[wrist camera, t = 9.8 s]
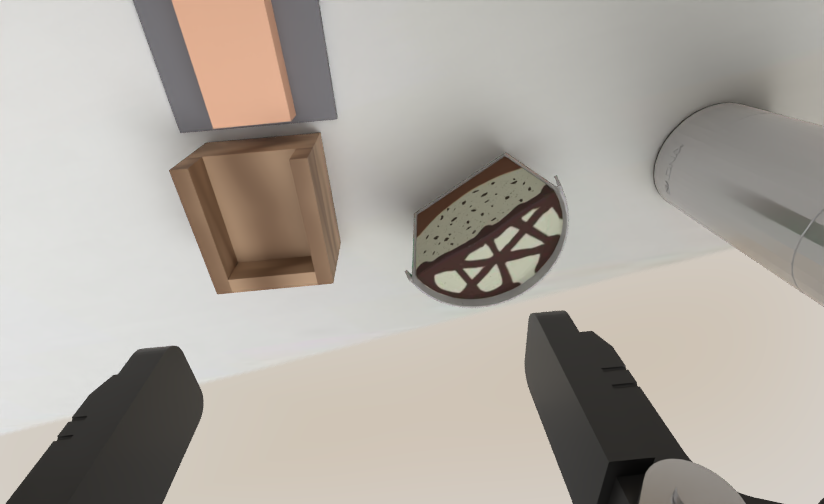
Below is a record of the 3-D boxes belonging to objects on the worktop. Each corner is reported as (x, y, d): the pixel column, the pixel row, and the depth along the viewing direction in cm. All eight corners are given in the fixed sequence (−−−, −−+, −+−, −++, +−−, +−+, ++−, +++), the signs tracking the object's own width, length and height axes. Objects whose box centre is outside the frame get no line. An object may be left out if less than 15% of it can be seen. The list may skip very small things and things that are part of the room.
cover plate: (252, -86, 25) (242, -93, 23) (296, 115, 31) (291, 121, 30) (160, -78, 25) (144, -84, 23) (222, 122, 31) (213, 128, 29)
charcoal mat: (302, -98, 25) (301, -99, 25) (337, 118, 32) (336, 119, 32) (106, -82, 25) (103, -84, 25) (182, 131, 32) (180, 132, 31)
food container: (438, 268, 40) (453, 340, 31) (400, 222, 37) (406, 287, 28) (553, 197, 37) (605, 254, 28) (521, 141, 34) (568, 186, 25)
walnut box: (320, 132, 32) (307, 158, 27) (340, 242, 38) (333, 283, 32) (206, 142, 32) (169, 170, 27) (241, 251, 37) (217, 294, 32)
